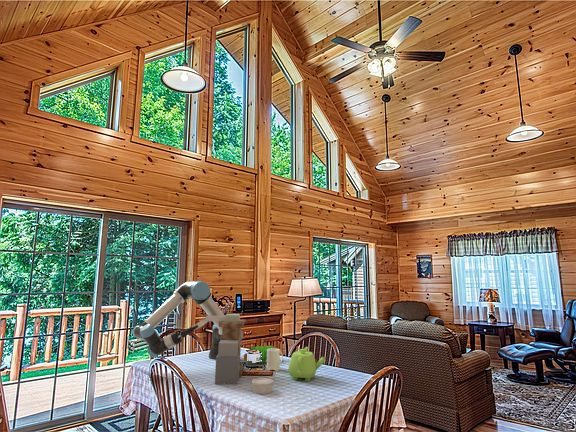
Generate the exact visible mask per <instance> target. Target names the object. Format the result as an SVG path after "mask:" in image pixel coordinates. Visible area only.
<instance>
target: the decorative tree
mask: <svg viewBox="0 0 576 432" xmlns="http://www.w3.org/2000/svg"><path fill="white" fill-rule="evenodd" d="M270 348H276V349H278V347H275V346H273V345H264V346H263V345H260V346H258V345H256V346H255V347H254V346H251V347H250V349H249V350H259V351H261V352H262V354H261V356H262V357H261V360H262V362H261V363H266V362H267V349H270ZM247 353H248V352H247ZM247 353H244V354H243V360H244V361H245V362H248V361H247Z"/></svg>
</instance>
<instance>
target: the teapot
mask: <svg viewBox="0 0 576 432" xmlns="http://www.w3.org/2000/svg"><path fill="white" fill-rule="evenodd" d="M308 349H309V348H308V346H305V347H304V348H300V349H299V351H297V350H296V351H294V352H293V353H292V354H291V357H290V360H289V362H288V363H289V364H288V373H289V374H288V375H290V377H292V378H291V380H292V381H297V380H298V379H300V378H301V379H304V380H305V382H311V378H313V377H315V375H316V374H317V373H316V372H317V370H318V369H319V368H320V367H321V366H322V365H323V364H324V363H325V362H327V360H326V358H325V357H324V356H321V358H319V360H318V361H317V362H316V359H315V355H314V353H313V352H312V351H309V350H308Z"/></svg>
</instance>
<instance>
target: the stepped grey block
mask: <svg viewBox="0 0 576 432" xmlns="http://www.w3.org/2000/svg"><path fill="white" fill-rule="evenodd" d="M238 342H239V340H221V341H220V342H219V349H218V355H217V356H216V359H215V373H214V374H215V375H214V385H238V383H239V380H240V377H239V365H240V366H241V352H240V353H238Z"/></svg>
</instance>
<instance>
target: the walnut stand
mask: <svg viewBox="0 0 576 432" xmlns="http://www.w3.org/2000/svg"><path fill="white" fill-rule="evenodd" d="M245 323H246V319H244V318H243V319H241V318H240V321H239V322H225V321H221V322H220V323H219V327H223V329H222V340H239V342H238V353H240V354H241V349H242V347H241V345H242V340H241V330H242V328H243V327H244V325H245ZM242 371H244V365H241V364H240V365H239V378H242V375H243V372H242Z"/></svg>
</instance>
